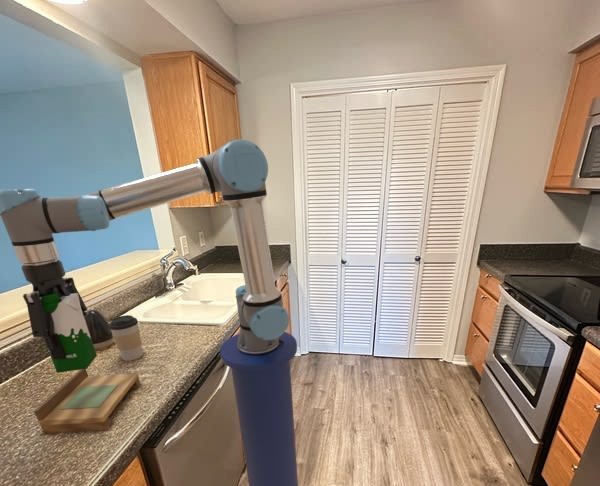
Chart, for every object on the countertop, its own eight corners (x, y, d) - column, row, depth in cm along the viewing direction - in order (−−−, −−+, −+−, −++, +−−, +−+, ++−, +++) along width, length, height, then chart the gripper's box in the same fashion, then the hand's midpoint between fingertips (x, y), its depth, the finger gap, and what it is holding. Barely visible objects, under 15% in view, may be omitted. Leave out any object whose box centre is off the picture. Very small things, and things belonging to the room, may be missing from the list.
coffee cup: (121, 352, 120) (110, 315, 114) (147, 347, 123) (137, 311, 117) (116, 364, 112) (104, 324, 107) (144, 359, 115) (134, 320, 109)
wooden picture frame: (140, 384, 100) (135, 364, 98) (106, 429, 82) (98, 407, 79) (89, 386, 100) (82, 367, 97) (43, 433, 82) (33, 411, 79)
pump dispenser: (92, 342, 129) (80, 307, 123) (120, 338, 131) (109, 303, 125) (82, 354, 120) (69, 317, 114) (112, 350, 122) (101, 313, 116)
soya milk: (51, 375, 80) (19, 299, 72) (67, 357, 88) (40, 287, 80) (90, 370, 81) (63, 294, 73) (102, 353, 89) (79, 283, 81)
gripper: (56, 252, 84) (83, 331, 93) (-18, 275, 64) (25, 372, 73) (85, 251, 84) (109, 329, 93) (20, 273, 64) (59, 371, 73)
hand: (72, 348), depth 83 cm, fingers closed on soya milk, 9 cm apart
